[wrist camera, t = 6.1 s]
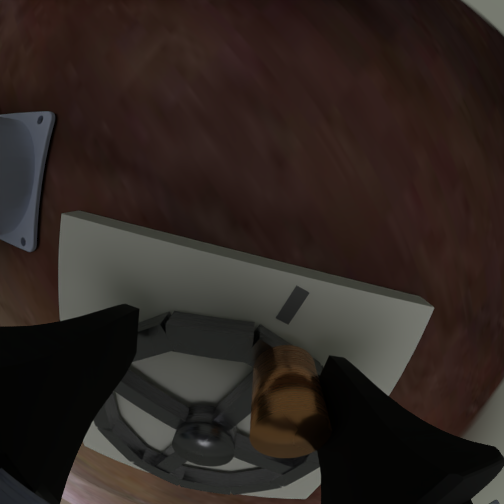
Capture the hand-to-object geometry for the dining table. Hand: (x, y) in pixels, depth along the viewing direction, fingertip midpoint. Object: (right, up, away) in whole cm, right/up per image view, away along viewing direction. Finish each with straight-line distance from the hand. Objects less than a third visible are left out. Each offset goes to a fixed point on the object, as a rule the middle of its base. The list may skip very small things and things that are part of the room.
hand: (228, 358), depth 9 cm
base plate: (-1, -5, +5) cm, 7 cm away
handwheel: (-1, -5, +3) cm, 6 cm away
